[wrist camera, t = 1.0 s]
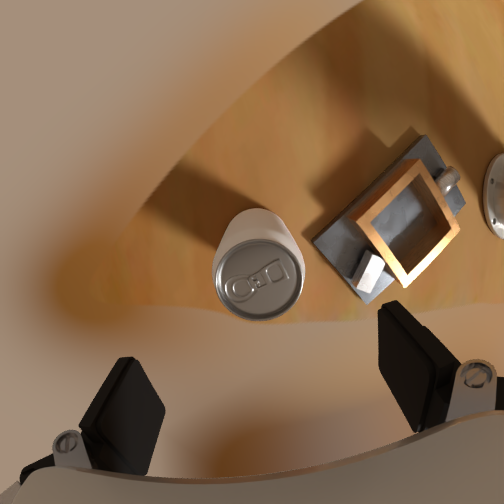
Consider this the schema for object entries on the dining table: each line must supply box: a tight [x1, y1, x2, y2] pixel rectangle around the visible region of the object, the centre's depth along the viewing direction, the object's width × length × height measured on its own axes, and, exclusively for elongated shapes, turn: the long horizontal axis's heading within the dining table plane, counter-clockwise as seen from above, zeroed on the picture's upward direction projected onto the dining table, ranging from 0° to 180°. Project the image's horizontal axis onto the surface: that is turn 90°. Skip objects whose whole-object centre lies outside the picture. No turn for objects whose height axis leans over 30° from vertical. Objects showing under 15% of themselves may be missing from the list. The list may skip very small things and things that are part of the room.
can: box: [212, 208, 305, 321], centre depth 24 cm, size 6×6×12 cm
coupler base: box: [311, 135, 466, 305], centre depth 27 cm, size 18×10×4 cm, turn 134°
